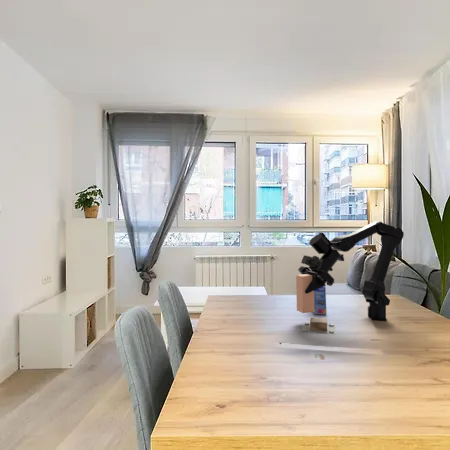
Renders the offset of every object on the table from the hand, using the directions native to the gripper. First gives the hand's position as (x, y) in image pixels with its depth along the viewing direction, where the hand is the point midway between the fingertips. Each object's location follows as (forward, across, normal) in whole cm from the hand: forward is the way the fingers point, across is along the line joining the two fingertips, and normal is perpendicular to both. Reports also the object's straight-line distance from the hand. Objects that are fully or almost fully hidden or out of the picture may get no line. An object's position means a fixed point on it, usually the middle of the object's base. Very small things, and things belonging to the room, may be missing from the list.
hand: (302, 291), depth 154 cm
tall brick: (+4, 0, +6) cm, 8 cm away
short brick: (+7, +9, +10) cm, 15 cm away
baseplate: (+8, +9, +11) cm, 16 cm away
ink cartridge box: (-3, -19, +23) cm, 30 cm away
